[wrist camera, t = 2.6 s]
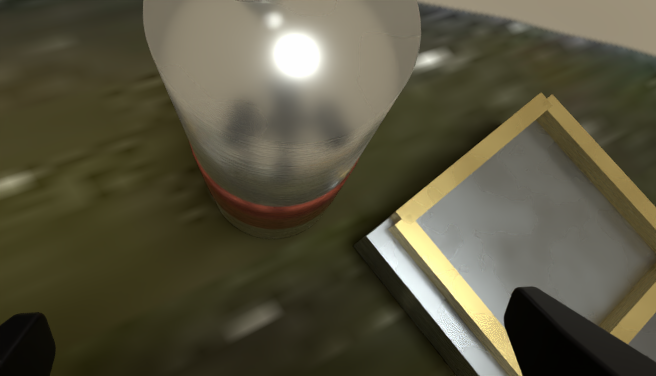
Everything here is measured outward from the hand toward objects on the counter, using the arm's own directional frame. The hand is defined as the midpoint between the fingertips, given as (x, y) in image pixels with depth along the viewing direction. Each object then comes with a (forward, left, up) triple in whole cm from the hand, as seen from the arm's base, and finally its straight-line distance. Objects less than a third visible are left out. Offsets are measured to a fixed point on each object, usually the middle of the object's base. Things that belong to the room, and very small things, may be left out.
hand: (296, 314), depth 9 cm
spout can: (+5, -4, -12) cm, 14 cm away
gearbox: (-10, -10, -12) cm, 19 cm away
